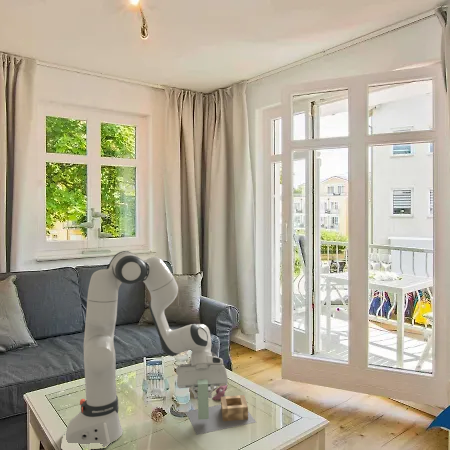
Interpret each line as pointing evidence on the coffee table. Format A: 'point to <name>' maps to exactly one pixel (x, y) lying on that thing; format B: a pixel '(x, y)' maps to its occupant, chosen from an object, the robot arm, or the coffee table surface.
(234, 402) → the square hole block
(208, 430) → the base board
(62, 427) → the coffee table surface
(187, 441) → the coffee table surface
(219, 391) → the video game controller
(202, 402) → the bracket bar
